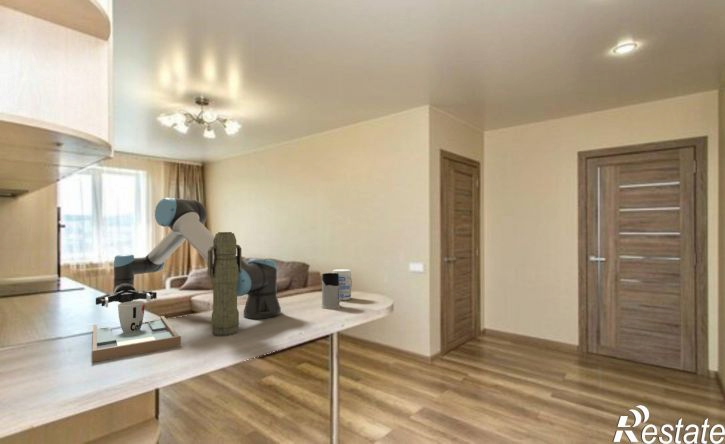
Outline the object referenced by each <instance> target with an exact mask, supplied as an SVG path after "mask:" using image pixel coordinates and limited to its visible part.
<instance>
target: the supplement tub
mask: <svg viewBox="0 0 725 444" xmlns="http://www.w3.org/2000/svg"><path fill="white" fill-rule="evenodd" d="M351 270H352V269H346V268H341V269H340V268H339V269H337V268H336V269H333V270H332V273H338V274H339V285H342V280H343V278H344V277H346V276H347V277H346V278H344V280H343V285H342V286H339V300H340V299H341V298H342V297H343V296H345V295H346V294H347V293H348V291H349V289H350V287H351V289H350V291H349V293H348V294H347V295H346V296H345V297H344V298H342V299H341V300H340V301H348V300H349V301H350V300H351V298H352V286H351V279H352V271H351ZM348 277H350V278H351V279H350V278H348Z"/></svg>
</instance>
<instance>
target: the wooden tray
mask: <svg viewBox="0 0 725 444" xmlns="http://www.w3.org/2000/svg"><path fill="white" fill-rule="evenodd" d="M92 326H93V327H92V349H91V350H92V351H91V352H92V354H91V357H92V358H91V359H92V361H91V362H92V363H95V362H101V361H104V360H111V359H116V358H122V357H128V356H132V355H133V356H134V355H140V354H144V353H150V352H154V351H160V350H167V349H172V348H179V347H181V345H182V341H181V340H182V339H181V338H182V336H181V335H179V333H177V331H176V330H175V328H174V327H173V326H172V324H171V323H170V322H169V321H168V319H167V318H166V317H165V316H164V315H160V319H159V320H153V321H148V326H149V328H150V329H146V330H140V331H138V332H131V333H119V334H112V330H111V329H112V328H111V326H109V327H108V326H107V327H103V328H97V326H98V325H97V324H94V325H92Z"/></svg>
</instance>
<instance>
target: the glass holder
mask: <svg viewBox="0 0 725 444" xmlns="http://www.w3.org/2000/svg"><path fill="white" fill-rule="evenodd" d="M346 277H347V276H346ZM346 277H344V278H346ZM344 278H343V280H344ZM348 278H350V277H348ZM350 279H351V287H350V289H351V290H352V286H353V281H352V280H353V279H352V277H351V278H350ZM343 280H342V285H343ZM342 285H339V274H338V273H333V272H328V273H327V272H326V273H322V279H321V306H320V307H321V309H324V310H335V309H339V308H341V305H340V303H341V301H342V300H341V299H342V298H344V297H345V296H346V295H347V294H348V293H349V291H350V289H349V291H348V293H347V294H346V295H345V296H343V297H342V298H341V299H340V300H339V286H342Z"/></svg>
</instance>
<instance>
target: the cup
mask: <svg viewBox="0 0 725 444" xmlns="http://www.w3.org/2000/svg"><path fill="white" fill-rule="evenodd" d="M145 305H146V301H144V300H132V301H131V302H124V303H120V302H119V303H118V304H117V311H118V312H117V313H118V319H119V324H120V328H121V330H122V334H125V333H131V332H138V331H141V328H142V325H143V321H144V318H145V317H144V315H145Z"/></svg>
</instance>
